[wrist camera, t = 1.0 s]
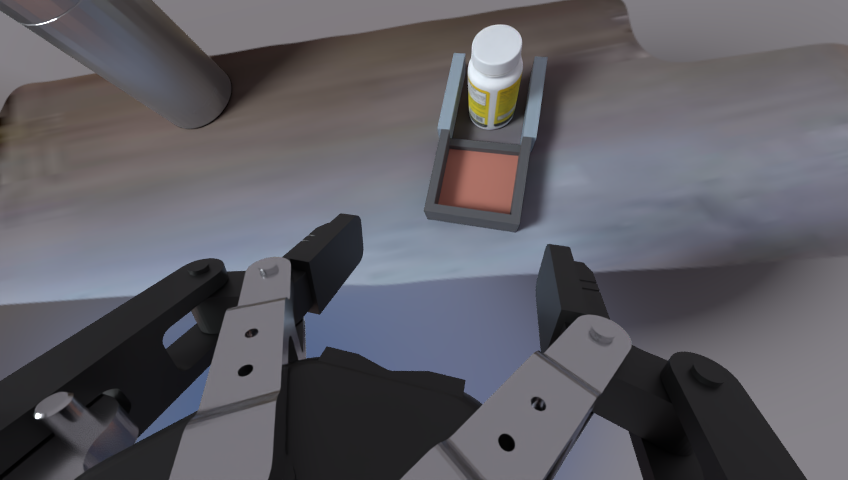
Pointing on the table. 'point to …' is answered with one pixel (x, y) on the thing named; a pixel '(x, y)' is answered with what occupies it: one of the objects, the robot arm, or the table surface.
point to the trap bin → (478, 182)
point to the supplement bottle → (494, 76)
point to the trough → (455, 91)
